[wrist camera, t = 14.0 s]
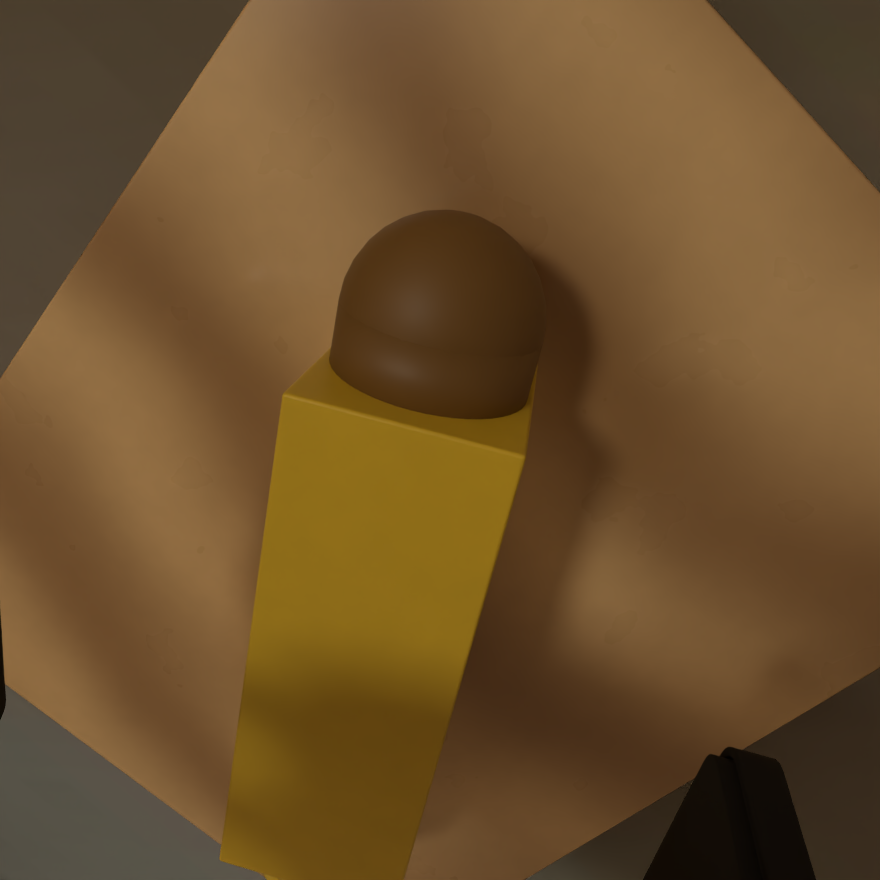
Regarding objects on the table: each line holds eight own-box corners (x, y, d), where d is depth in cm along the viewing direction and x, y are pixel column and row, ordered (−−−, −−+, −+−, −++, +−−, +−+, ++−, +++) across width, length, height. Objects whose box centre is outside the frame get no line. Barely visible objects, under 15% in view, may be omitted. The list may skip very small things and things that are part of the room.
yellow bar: (384, 174, 12) (307, 199, 9) (578, 221, 12) (582, 267, 9) (279, 778, 18) (206, 945, 14) (410, 816, 18) (370, 996, 14)
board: (456, -248, 11) (441, -298, 10) (1102, 464, 14) (1161, 503, 12) (-85, 547, 19) (-136, 581, 18) (393, 912, 22) (381, 966, 20)
